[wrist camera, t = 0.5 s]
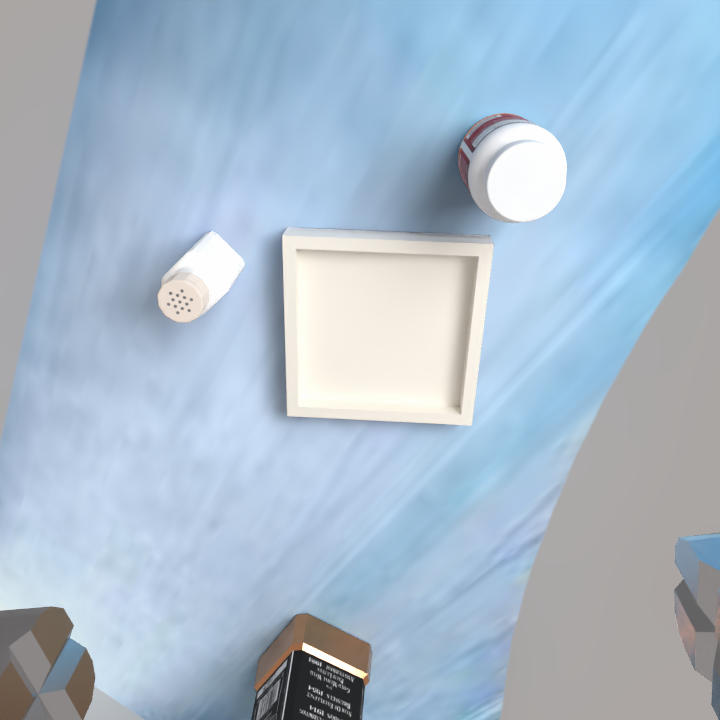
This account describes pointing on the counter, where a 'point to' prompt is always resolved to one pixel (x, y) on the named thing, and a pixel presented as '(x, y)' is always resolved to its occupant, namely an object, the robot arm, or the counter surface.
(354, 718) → the whiskey bottle
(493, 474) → the counter surface
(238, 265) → the salt shaker
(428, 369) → the tray
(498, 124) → the pill bottle
